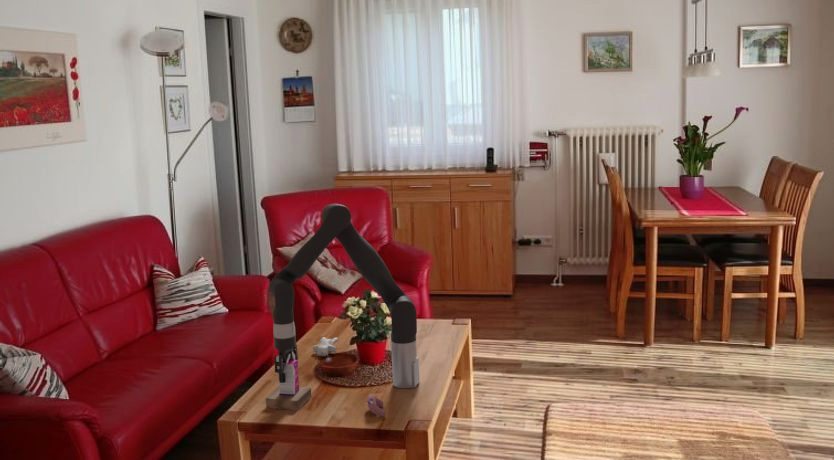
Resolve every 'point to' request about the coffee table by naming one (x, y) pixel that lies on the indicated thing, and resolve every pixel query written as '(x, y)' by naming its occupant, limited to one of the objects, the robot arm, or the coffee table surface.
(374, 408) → the pink rounded lump
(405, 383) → the robot arm
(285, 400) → the grey wooden square block
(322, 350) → the bunny figurine
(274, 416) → the coffee table surface
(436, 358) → the coffee table surface
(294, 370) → the supplement box
